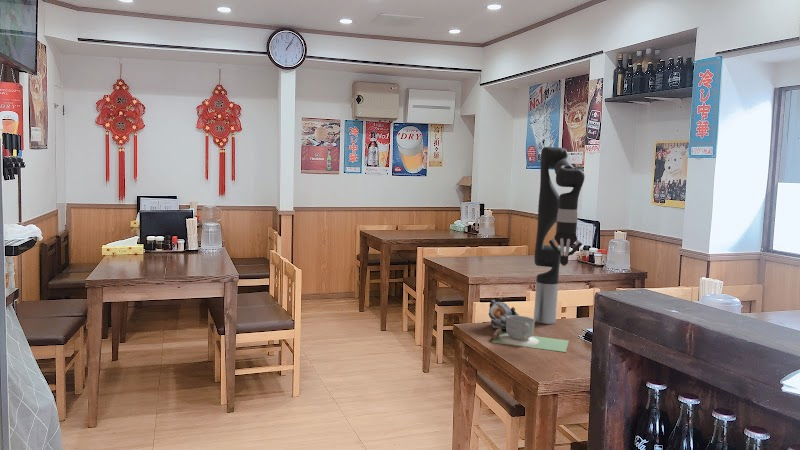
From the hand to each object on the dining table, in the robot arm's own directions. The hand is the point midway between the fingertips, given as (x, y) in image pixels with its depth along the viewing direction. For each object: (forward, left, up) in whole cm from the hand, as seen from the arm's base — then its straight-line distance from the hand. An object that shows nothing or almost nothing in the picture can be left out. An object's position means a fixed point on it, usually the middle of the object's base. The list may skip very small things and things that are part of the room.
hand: (563, 265), depth 240 cm
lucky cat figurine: (-4, -22, -29) cm, 37 cm away
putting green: (+10, -10, -29) cm, 32 cm away
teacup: (+9, -14, -29) cm, 33 cm away
